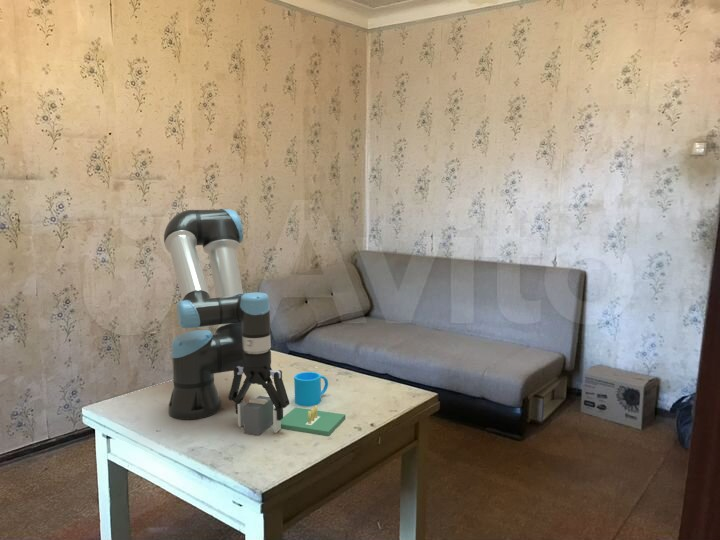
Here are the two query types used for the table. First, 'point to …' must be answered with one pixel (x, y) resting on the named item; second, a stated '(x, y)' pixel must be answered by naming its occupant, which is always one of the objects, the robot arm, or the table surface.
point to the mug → (308, 388)
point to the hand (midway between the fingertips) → (259, 427)
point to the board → (312, 421)
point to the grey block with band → (258, 415)
